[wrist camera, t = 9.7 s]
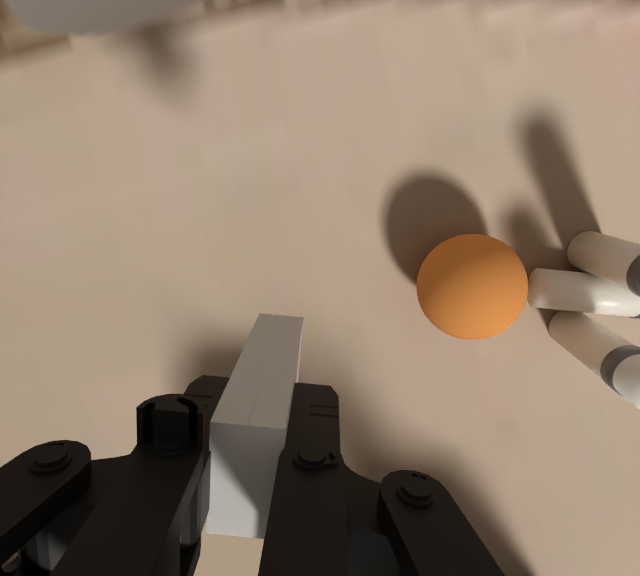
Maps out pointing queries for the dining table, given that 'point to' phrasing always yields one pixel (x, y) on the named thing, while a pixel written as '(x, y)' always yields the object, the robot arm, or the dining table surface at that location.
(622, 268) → the pin
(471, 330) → the ball
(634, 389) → the pin
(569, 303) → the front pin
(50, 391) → the dining table surface
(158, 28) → the dining table surface
